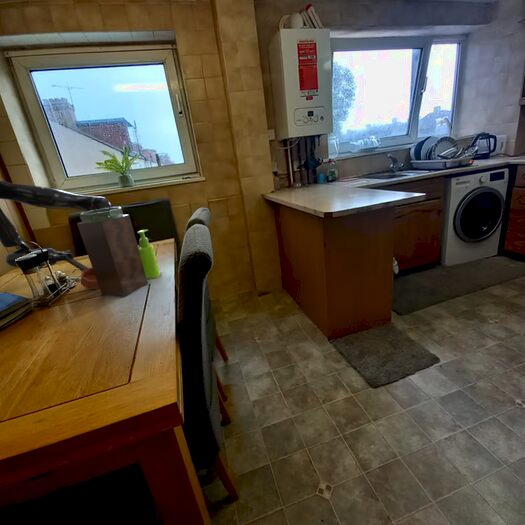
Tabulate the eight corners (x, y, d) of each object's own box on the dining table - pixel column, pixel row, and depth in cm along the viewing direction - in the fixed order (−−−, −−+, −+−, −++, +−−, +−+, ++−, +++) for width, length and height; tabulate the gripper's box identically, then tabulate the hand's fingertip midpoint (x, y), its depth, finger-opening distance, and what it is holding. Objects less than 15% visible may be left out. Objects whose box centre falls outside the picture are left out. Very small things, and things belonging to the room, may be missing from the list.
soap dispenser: (163, 271, 123) (152, 227, 116) (156, 278, 116) (144, 232, 109) (151, 272, 124) (139, 229, 116) (143, 279, 117) (130, 233, 110)
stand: (125, 280, 118) (103, 207, 107) (149, 282, 113) (128, 206, 102) (99, 295, 106) (71, 215, 95) (125, 297, 102) (98, 213, 91)
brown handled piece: (72, 258, 121) (73, 250, 119) (111, 282, 118) (112, 274, 116) (52, 266, 113) (52, 258, 111) (92, 292, 110) (93, 283, 108)
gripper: (22, 254, 114) (49, 253, 107) (55, 244, 126) (82, 243, 119) (30, 271, 116) (56, 271, 110) (62, 259, 128) (88, 259, 122)
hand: (69, 257), depth 114 cm, fingers closed on brown handled piece, 2 cm apart
